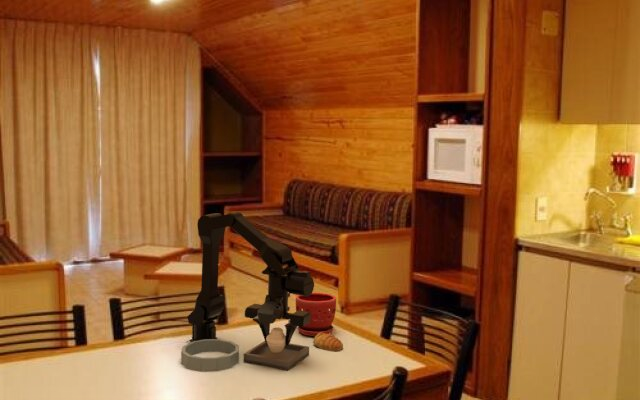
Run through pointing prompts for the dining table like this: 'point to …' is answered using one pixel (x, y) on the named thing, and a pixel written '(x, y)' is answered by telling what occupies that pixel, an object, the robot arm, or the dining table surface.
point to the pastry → (327, 342)
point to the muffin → (276, 340)
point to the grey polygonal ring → (210, 362)
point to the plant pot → (317, 312)
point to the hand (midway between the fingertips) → (276, 343)
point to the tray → (276, 356)
